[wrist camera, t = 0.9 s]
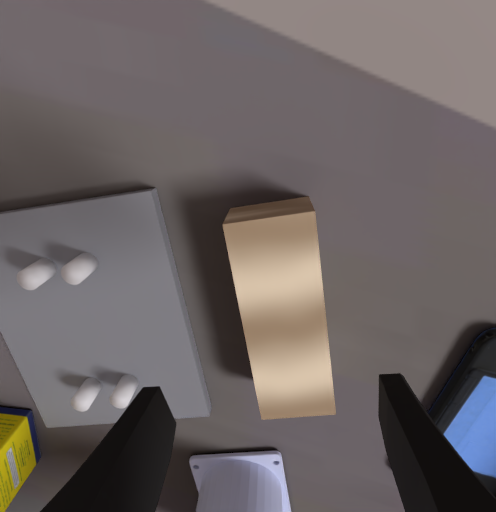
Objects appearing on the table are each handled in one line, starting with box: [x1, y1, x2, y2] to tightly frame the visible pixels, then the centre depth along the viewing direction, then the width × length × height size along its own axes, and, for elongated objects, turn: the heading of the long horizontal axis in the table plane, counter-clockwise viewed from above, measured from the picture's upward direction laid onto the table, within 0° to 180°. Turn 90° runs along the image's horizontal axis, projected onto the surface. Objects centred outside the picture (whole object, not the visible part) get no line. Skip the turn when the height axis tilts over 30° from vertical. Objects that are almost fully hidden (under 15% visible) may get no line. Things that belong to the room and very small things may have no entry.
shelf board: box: [222, 196, 336, 420], centre depth 23 cm, size 14×5×4 cm, turn 10°
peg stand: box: [0, 188, 212, 428], centre depth 25 cm, size 18×14×3 cm
